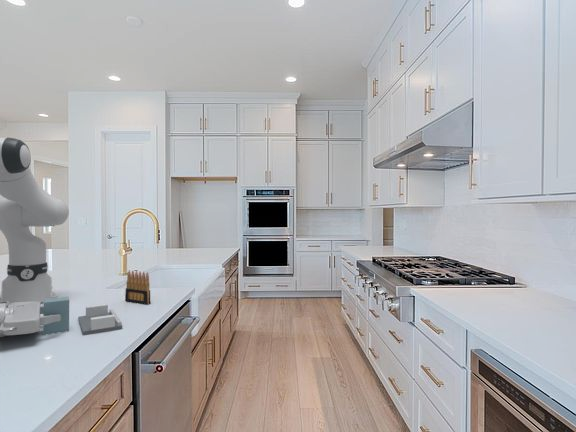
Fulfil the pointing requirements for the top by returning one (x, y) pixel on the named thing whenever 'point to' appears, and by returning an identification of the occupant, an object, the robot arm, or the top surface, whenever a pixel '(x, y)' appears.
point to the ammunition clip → (137, 288)
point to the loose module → (56, 307)
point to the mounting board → (87, 325)
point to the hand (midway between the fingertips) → (60, 312)
